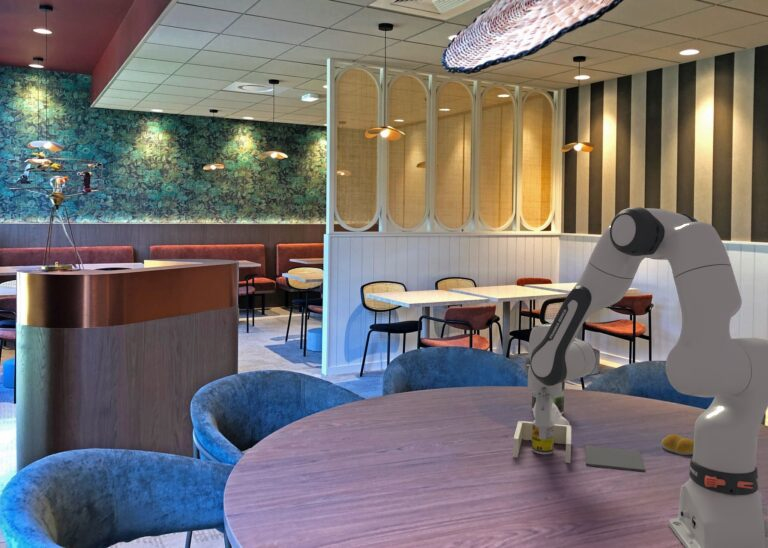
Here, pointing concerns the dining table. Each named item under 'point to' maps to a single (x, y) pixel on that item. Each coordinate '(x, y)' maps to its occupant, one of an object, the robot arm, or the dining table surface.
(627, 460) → the mat
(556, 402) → the coffee can
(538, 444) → the supplement bottle
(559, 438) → the beige u-shaped bracket
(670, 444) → the bread roll
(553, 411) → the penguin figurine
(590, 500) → the dining table surface
